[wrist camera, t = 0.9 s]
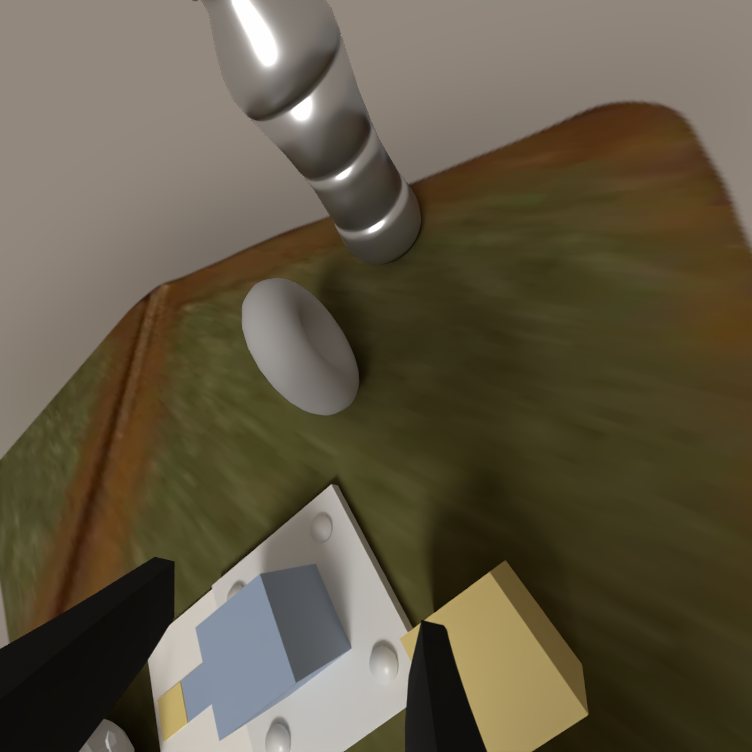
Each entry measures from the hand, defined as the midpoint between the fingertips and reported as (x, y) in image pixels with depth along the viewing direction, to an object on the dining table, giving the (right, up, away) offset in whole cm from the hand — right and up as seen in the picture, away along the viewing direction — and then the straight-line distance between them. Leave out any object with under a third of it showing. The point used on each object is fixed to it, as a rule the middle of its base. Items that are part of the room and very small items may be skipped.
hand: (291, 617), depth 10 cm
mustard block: (+9, -6, +8) cm, 13 cm away
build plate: (-2, -9, +12) cm, 15 cm away
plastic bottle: (+4, +18, +21) cm, 28 cm away
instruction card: (-10, -15, +14) cm, 23 cm away
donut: (0, +7, +18) cm, 20 cm away
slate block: (-2, -9, +12) cm, 15 cm away
